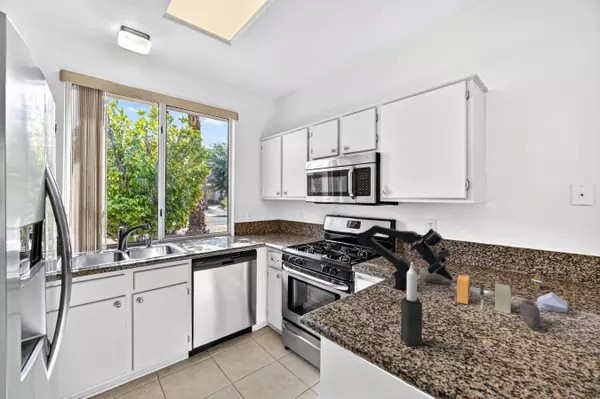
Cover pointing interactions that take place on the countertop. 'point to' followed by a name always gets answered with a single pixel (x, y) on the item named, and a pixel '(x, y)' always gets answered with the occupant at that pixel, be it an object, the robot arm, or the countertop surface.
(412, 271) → the candle
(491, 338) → the countertop surface
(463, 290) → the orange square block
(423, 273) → the grey lumpy stone
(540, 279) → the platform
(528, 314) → the perforated stone tool
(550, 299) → the pale blue faceted stone
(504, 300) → the pipe stand
